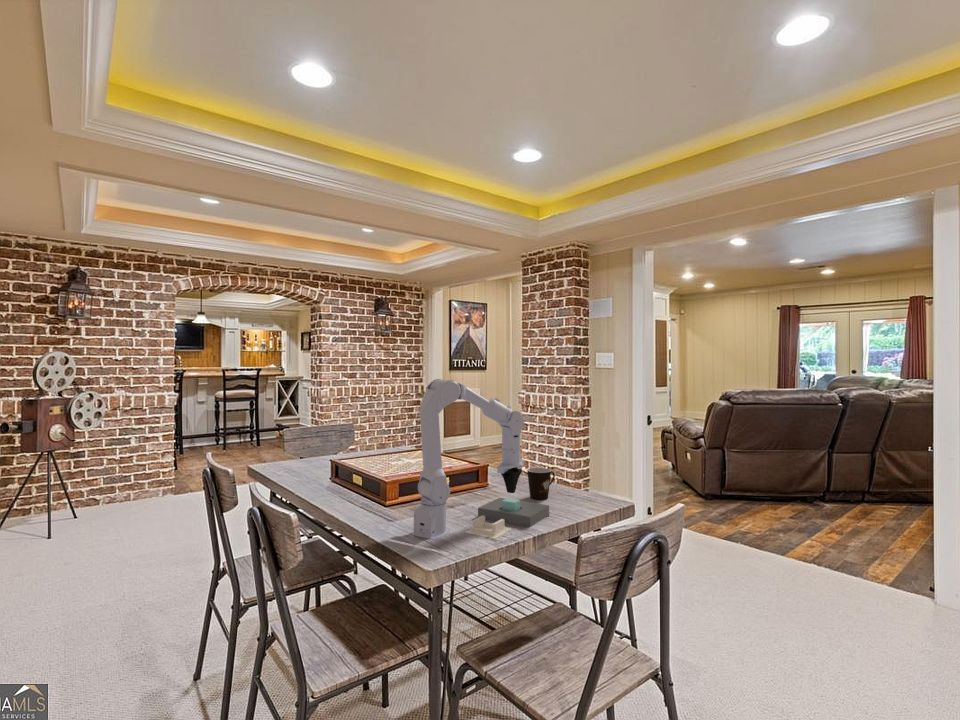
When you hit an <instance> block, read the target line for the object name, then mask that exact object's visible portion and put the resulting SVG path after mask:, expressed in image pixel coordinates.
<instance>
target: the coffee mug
mask: <svg viewBox="0 0 960 720" xmlns="http://www.w3.org/2000/svg"><path fill="white" fill-rule="evenodd" d="M526 471H527V480H528V489H529V497H530V499H531V500H534V501H546V500H548V499H549V493H550V486H551V485H552V483H553V482H554V480H555V477H556V475H555V472H554V471H552V470H551V469H549V468H546V467H545V468H544V467H531V468H527V470H526ZM551 476H552V479H551Z"/></svg>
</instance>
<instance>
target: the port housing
mask: <svg viewBox="0 0 960 720" xmlns="http://www.w3.org/2000/svg"><path fill="white" fill-rule="evenodd" d="M505 499H506V498H503V497H498V498H496V499H494V500H491V501H489V502H488V503H485V504H483V505H481V506H479V507H478V508H477V518H478V517H480V516H485V520H489V521H494V522H497V521H499V520H501V519H504V520H505V524H510V525H517V526H522V527H525V528H526V527H527V528H531V527H533V526H534V525H536V524H537V523H539V522H541V521H542V520H544V519H545V518H546V519H548V518H549V517H550V505H547V504H542V503H536V502H528V501H523V500H520V510H518V511H516V512H515V511H509V510H503V509H502V501H503V500H505ZM547 517H548V518H547Z"/></svg>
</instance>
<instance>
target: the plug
mask: <svg viewBox="0 0 960 720" xmlns="http://www.w3.org/2000/svg"><path fill="white" fill-rule="evenodd" d="M520 501H521V499H514V498H508V497H507V498H505V500H503V501H502V509H503V510H509V511H515V512H516V511H518V510H520Z"/></svg>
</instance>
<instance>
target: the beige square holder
mask: <svg viewBox="0 0 960 720" xmlns="http://www.w3.org/2000/svg"><path fill="white" fill-rule="evenodd" d="M505 525H506V523H505V520H504V519H501V520H499V521H494V522H492V523H491V522H487V521H486V519H485V516H480V517H478V516H477V517H476V518H475V519H472V527H471V528H470V529H468V530H466V531H464V533H466V534H470V535H475V536H481V537H485V538H490V539H497V538H499V537H500V536H502V535H504V534H505V533H507V532H509V531H510V530H512V528H511V527H506V526H505Z"/></svg>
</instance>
